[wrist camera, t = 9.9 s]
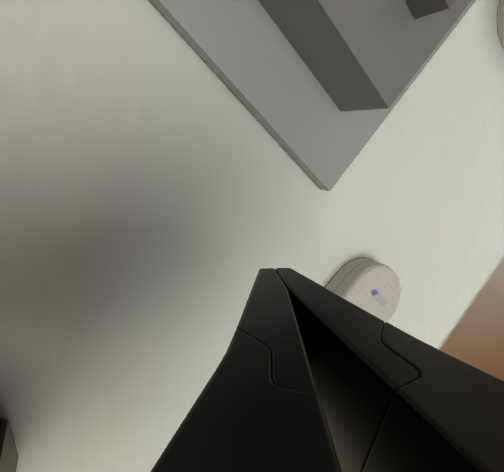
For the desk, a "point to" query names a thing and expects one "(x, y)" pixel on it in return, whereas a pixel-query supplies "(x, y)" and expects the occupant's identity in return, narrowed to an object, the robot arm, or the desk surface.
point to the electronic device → (368, 287)
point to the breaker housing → (316, 65)
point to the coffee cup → (501, 22)
